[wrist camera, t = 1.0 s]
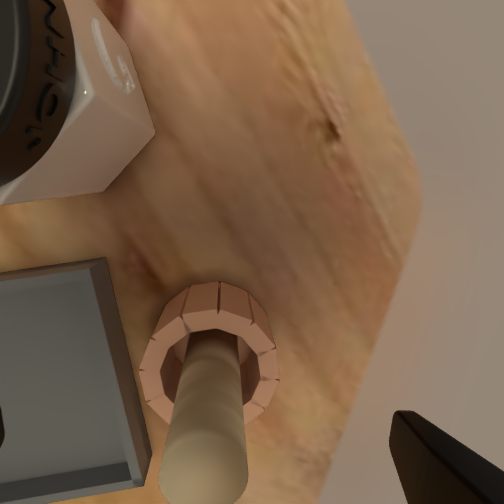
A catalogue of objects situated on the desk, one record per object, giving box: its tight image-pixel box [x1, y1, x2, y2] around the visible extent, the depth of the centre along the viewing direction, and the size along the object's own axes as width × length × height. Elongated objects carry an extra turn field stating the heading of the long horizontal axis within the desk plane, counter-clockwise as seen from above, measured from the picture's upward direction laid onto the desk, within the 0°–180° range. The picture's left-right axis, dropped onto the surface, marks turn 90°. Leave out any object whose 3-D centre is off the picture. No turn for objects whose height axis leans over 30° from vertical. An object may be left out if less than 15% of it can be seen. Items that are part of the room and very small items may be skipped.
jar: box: [0, 0, 155, 206], centre depth 12 cm, size 9×8×12 cm
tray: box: [0, 257, 152, 504], centre depth 20 cm, size 13×14×2 cm
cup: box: [139, 281, 280, 426], centre depth 20 cm, size 7×7×4 cm
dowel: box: [159, 328, 248, 504], centre depth 16 cm, size 3×3×10 cm
